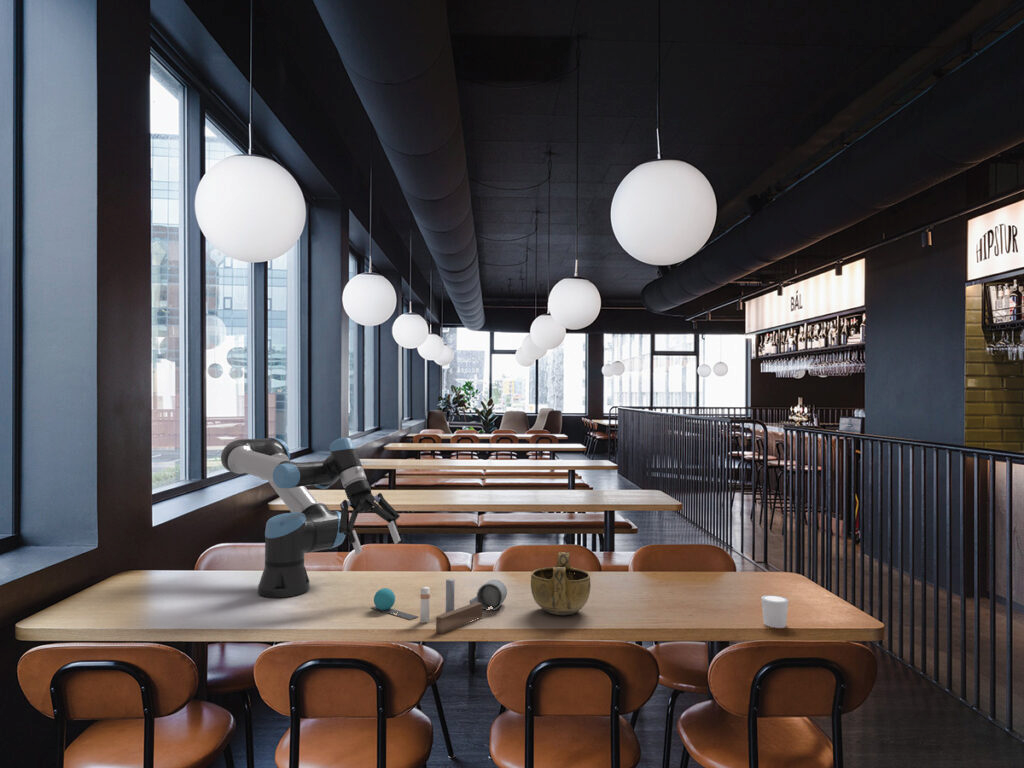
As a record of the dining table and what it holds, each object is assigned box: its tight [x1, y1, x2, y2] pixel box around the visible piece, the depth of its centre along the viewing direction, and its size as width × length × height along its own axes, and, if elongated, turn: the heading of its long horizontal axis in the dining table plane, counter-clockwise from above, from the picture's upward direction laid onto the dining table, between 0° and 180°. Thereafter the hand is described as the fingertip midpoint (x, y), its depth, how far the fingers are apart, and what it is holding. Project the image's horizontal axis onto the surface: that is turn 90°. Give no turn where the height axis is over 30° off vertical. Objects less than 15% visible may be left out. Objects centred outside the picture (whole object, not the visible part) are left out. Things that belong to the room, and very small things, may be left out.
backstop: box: [435, 602, 483, 635], centre depth 173 cm, size 2×16×4 cm, turn 143°
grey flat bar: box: [370, 605, 419, 620], centre depth 182 cm, size 16×3×1 cm, turn 53°
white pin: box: [419, 586, 431, 624], centre depth 175 cm, size 2×2×9 cm
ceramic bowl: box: [530, 551, 591, 616], centre depth 184 cm, size 22×17×15 cm
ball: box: [373, 587, 396, 610], centre depth 184 cm, size 6×6×6 cm
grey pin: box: [445, 578, 456, 613], centre depth 183 cm, size 2×2×9 cm
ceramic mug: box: [468, 579, 508, 611], centre depth 189 cm, size 11×8×8 cm
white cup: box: [760, 594, 789, 629], centre depth 176 cm, size 7×7×7 cm
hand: (379, 547), depth 195 cm, fingers open, 13 cm apart
